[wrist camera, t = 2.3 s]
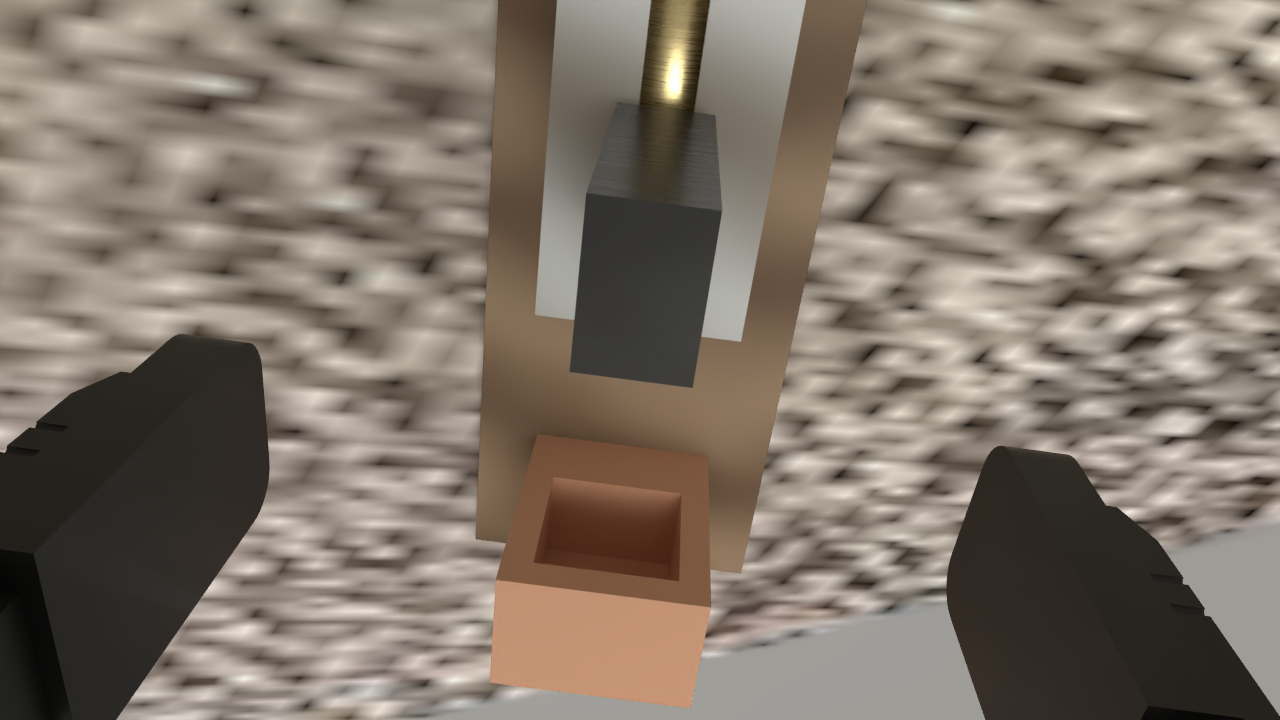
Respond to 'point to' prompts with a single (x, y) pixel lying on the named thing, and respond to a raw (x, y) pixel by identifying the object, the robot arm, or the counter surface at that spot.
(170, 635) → the robot arm
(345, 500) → the counter surface
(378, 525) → the counter surface
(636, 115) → the gold and grey t-piece
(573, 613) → the socket block
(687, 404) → the sleeve stand
